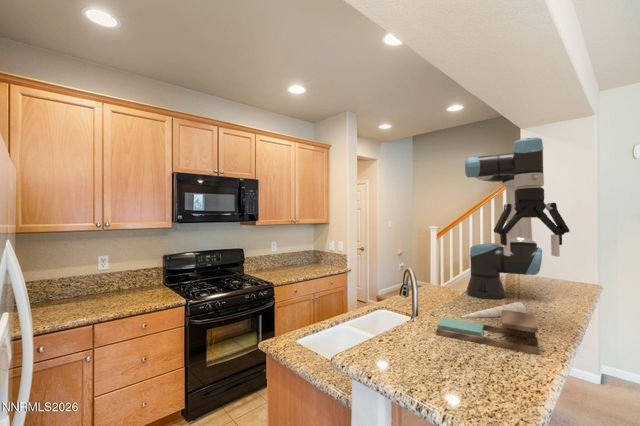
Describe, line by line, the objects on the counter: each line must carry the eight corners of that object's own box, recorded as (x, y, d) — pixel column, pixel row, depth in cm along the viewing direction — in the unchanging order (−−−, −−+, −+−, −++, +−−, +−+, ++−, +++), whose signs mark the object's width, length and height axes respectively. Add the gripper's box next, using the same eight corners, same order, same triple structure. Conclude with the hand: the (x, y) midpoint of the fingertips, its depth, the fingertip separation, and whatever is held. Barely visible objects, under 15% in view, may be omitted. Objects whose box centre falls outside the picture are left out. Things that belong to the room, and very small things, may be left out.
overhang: (436, 334, 88) (436, 312, 88) (444, 320, 99) (443, 301, 100) (538, 354, 74) (537, 328, 75) (534, 336, 86) (533, 313, 86)
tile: (437, 333, 90) (437, 324, 90) (442, 325, 97) (442, 317, 97) (481, 342, 83) (481, 332, 83) (483, 332, 90) (483, 323, 90)
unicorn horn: (455, 315, 106) (455, 301, 106) (517, 313, 107) (517, 300, 107) (462, 319, 101) (461, 305, 101) (527, 317, 102) (527, 304, 102)
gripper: (490, 188, 89) (492, 256, 88) (583, 185, 84) (585, 257, 84) (481, 190, 96) (483, 253, 96) (566, 187, 92) (568, 254, 91)
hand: (530, 255), depth 90 cm, fingers open, 13 cm apart
